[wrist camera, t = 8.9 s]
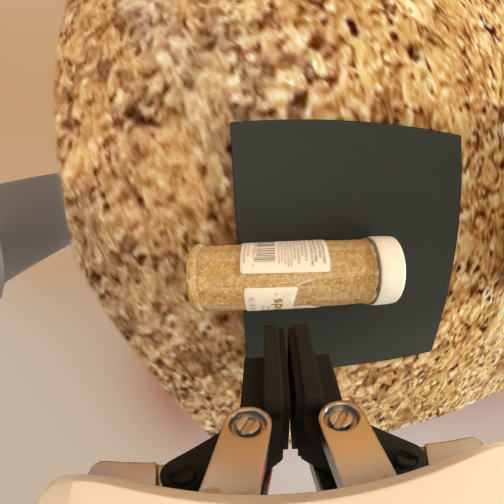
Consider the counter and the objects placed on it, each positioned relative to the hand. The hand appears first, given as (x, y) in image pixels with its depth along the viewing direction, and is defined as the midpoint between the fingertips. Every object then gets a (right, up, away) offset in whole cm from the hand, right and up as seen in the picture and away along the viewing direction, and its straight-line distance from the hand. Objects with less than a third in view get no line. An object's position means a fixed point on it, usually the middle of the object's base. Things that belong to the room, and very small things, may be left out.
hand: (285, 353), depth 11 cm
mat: (+7, +3, +9) cm, 12 cm away
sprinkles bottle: (-5, +2, +8) cm, 10 cm away
